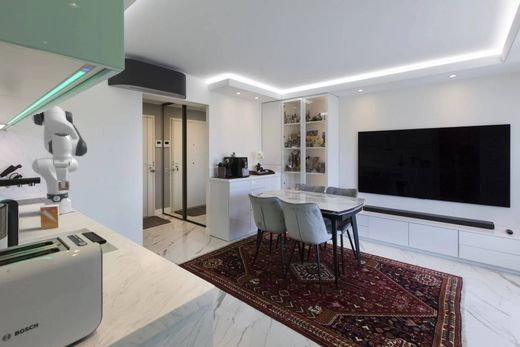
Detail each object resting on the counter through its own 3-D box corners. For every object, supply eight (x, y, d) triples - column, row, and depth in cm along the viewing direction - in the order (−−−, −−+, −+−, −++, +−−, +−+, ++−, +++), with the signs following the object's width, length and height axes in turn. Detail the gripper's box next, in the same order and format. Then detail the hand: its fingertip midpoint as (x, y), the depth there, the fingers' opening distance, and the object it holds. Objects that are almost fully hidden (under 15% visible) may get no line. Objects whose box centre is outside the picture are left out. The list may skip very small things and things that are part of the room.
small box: (41, 229, 149) (39, 207, 148) (42, 226, 154) (41, 205, 153) (58, 227, 153) (57, 205, 152) (59, 224, 159) (58, 203, 157)
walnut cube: (59, 189, 148) (59, 181, 148) (69, 188, 151) (69, 181, 150) (58, 190, 144) (58, 182, 144) (68, 190, 147) (68, 182, 146)
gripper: (58, 161, 153) (59, 184, 154) (53, 163, 136) (54, 190, 137) (71, 161, 156) (72, 184, 158) (68, 163, 139) (69, 189, 140)
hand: (63, 186), depth 147 cm, fingers closed on walnut cube, 4 cm apart
